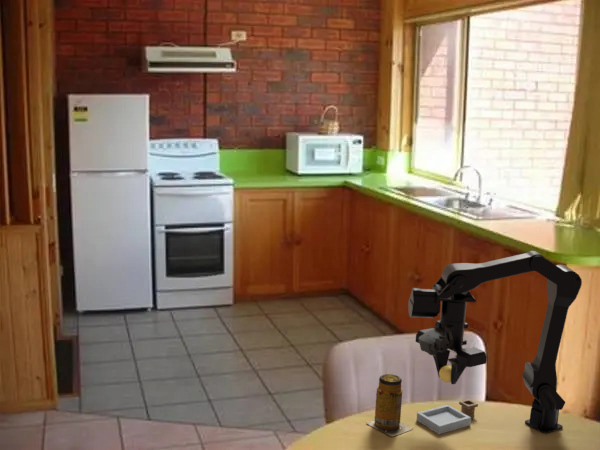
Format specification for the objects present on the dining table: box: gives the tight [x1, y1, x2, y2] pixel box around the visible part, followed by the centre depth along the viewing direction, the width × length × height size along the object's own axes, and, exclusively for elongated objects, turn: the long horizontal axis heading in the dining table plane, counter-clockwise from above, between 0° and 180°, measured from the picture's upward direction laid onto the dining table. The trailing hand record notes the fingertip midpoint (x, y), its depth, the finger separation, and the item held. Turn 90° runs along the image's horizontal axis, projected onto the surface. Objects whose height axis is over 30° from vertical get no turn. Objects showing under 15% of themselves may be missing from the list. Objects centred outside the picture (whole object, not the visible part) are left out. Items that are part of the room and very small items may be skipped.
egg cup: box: [458, 398, 479, 419], centre depth 184 cm, size 3×3×3 cm
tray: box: [416, 404, 472, 435], centre depth 179 cm, size 10×8×2 cm
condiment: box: [366, 373, 413, 437], centre depth 175 cm, size 7×8×12 cm
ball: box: [438, 364, 452, 383], centre depth 177 cm, size 4×4×4 cm
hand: (447, 380), depth 177 cm, fingers closed on ball, 4 cm apart
